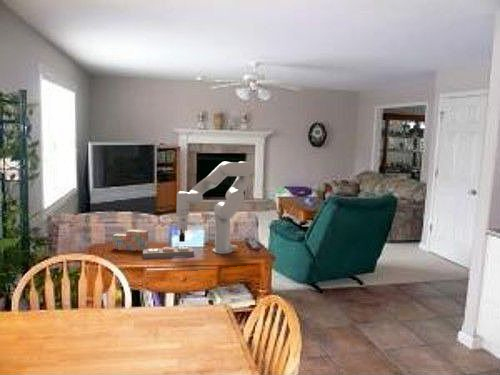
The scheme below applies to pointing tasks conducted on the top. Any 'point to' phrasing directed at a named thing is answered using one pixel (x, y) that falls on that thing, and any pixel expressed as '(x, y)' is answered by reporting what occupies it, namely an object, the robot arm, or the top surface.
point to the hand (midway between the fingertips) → (181, 241)
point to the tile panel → (167, 253)
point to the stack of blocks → (131, 240)
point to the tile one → (152, 250)
